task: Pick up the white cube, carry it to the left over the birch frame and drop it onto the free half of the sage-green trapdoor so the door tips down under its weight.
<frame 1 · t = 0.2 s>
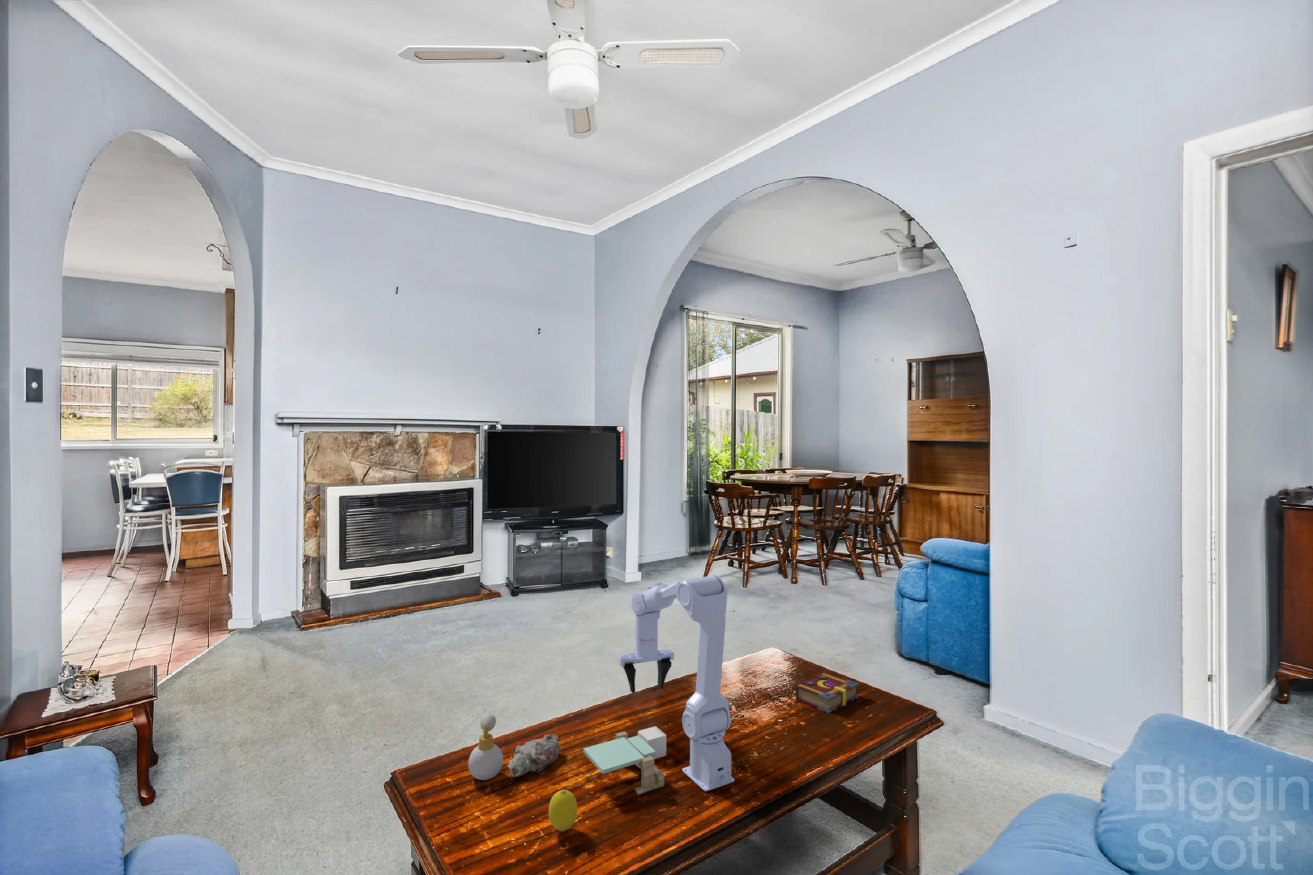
hand: (646, 689, 162), 10 cm above the table, fingers open, 7 cm apart
decorative book: (827, 699, 179), on the table
white cube: (651, 753, 149), on the table
trapdoor: (620, 755, 138), point 5 cm above the table, hinge at 0.0°
mineral rock: (534, 766, 144), on the table
frame: (634, 774, 140), on the table
lemon: (562, 831, 121), on the table
perfume bottle: (484, 774, 140), on the table
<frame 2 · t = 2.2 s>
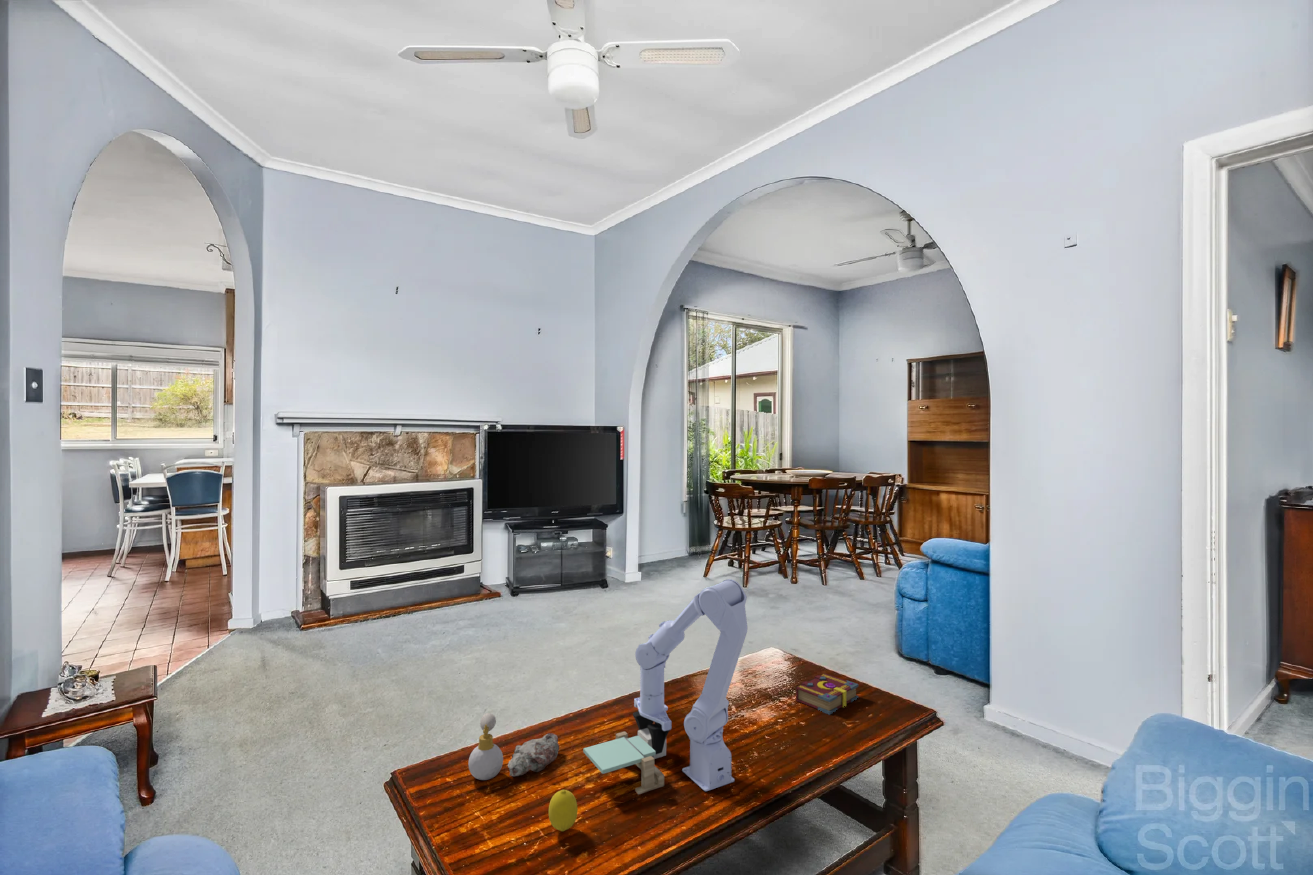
hand: (651, 747, 149), 1 cm above the table, fingers closed on white cube, 5 cm apart
white cube: (651, 753, 149), on the table, touching gripper
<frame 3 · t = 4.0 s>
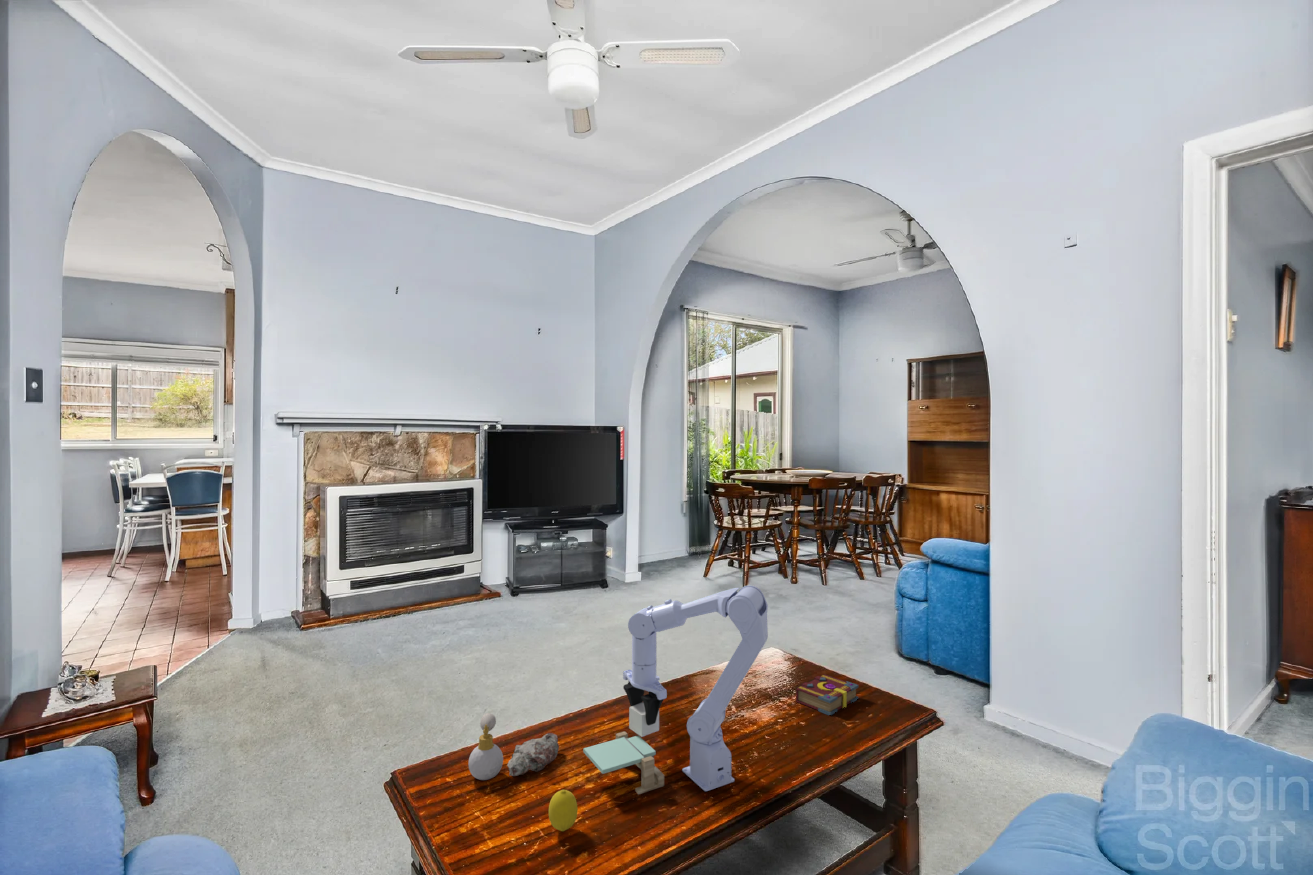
hand: (644, 718, 146), 10 cm above the table, fingers closed on white cube, 5 cm apart
white cube: (644, 729, 146), point 7 cm above the table, touching gripper
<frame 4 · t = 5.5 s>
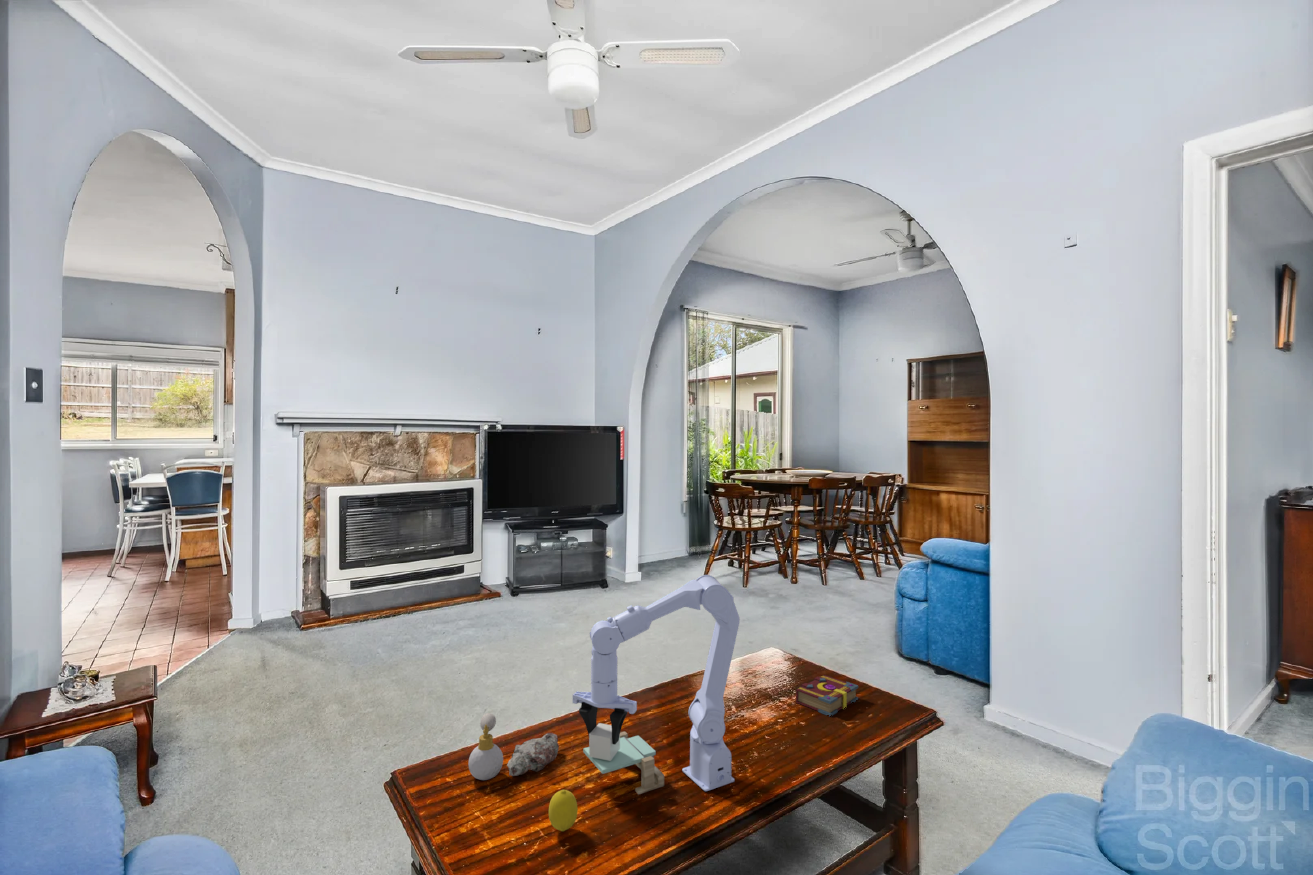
hand: (604, 739, 136), 10 cm above the table, fingers closed on white cube, 5 cm apart
white cube: (604, 752, 136), point 7 cm above the table, touching gripper
when the fingers open (10 cm above the table, at t = 5.9 s): white cube drops 4 cm, resting on trapdoor.
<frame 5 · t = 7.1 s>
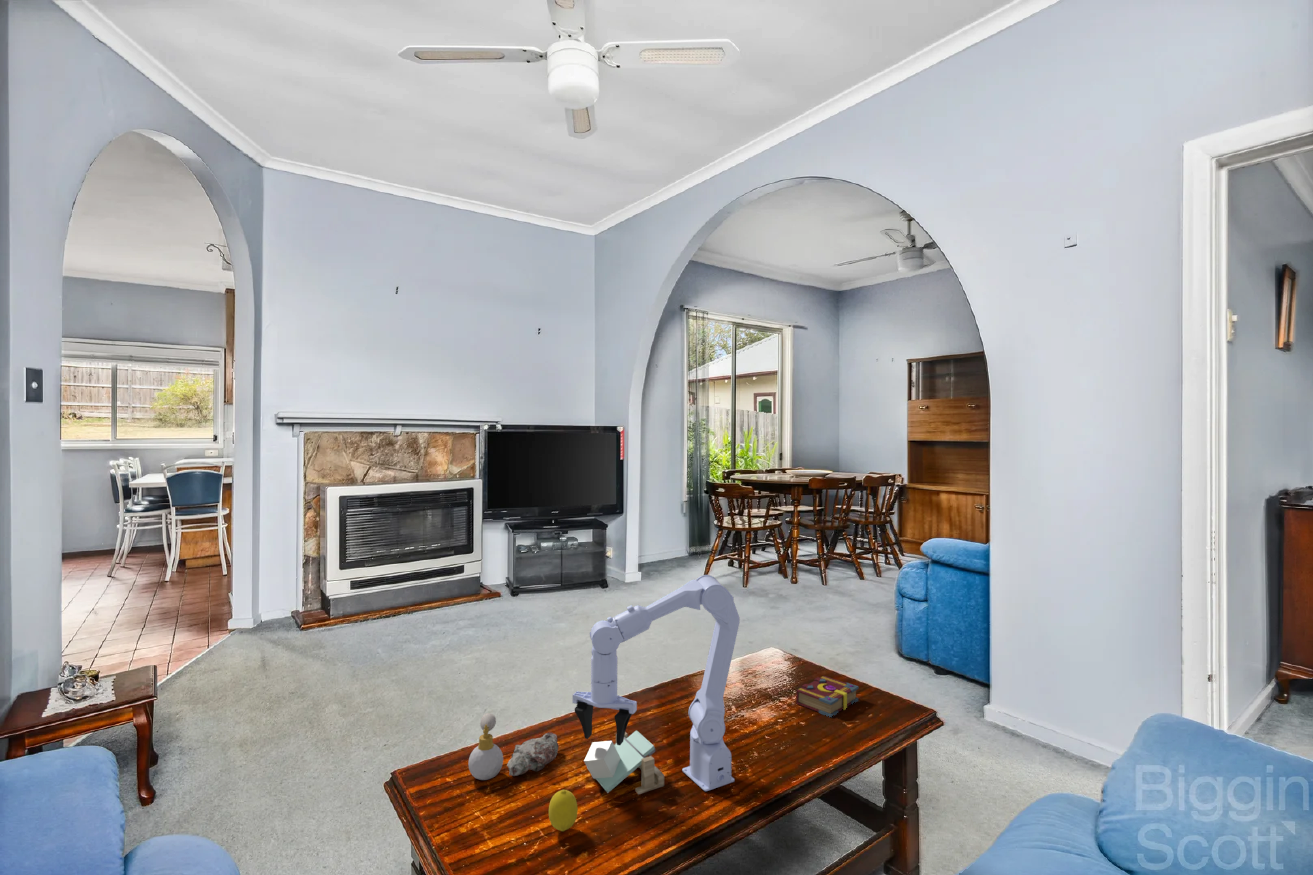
hand: (604, 739, 136), 10 cm above the table, fingers open, 7 cm apart
white cube: (607, 768, 137), point 3 cm above the table, tilted 26°, touching trapdoor
trapdoor: (623, 761, 138), point 4 cm above the table, hinge at -25.9°, touching white cube
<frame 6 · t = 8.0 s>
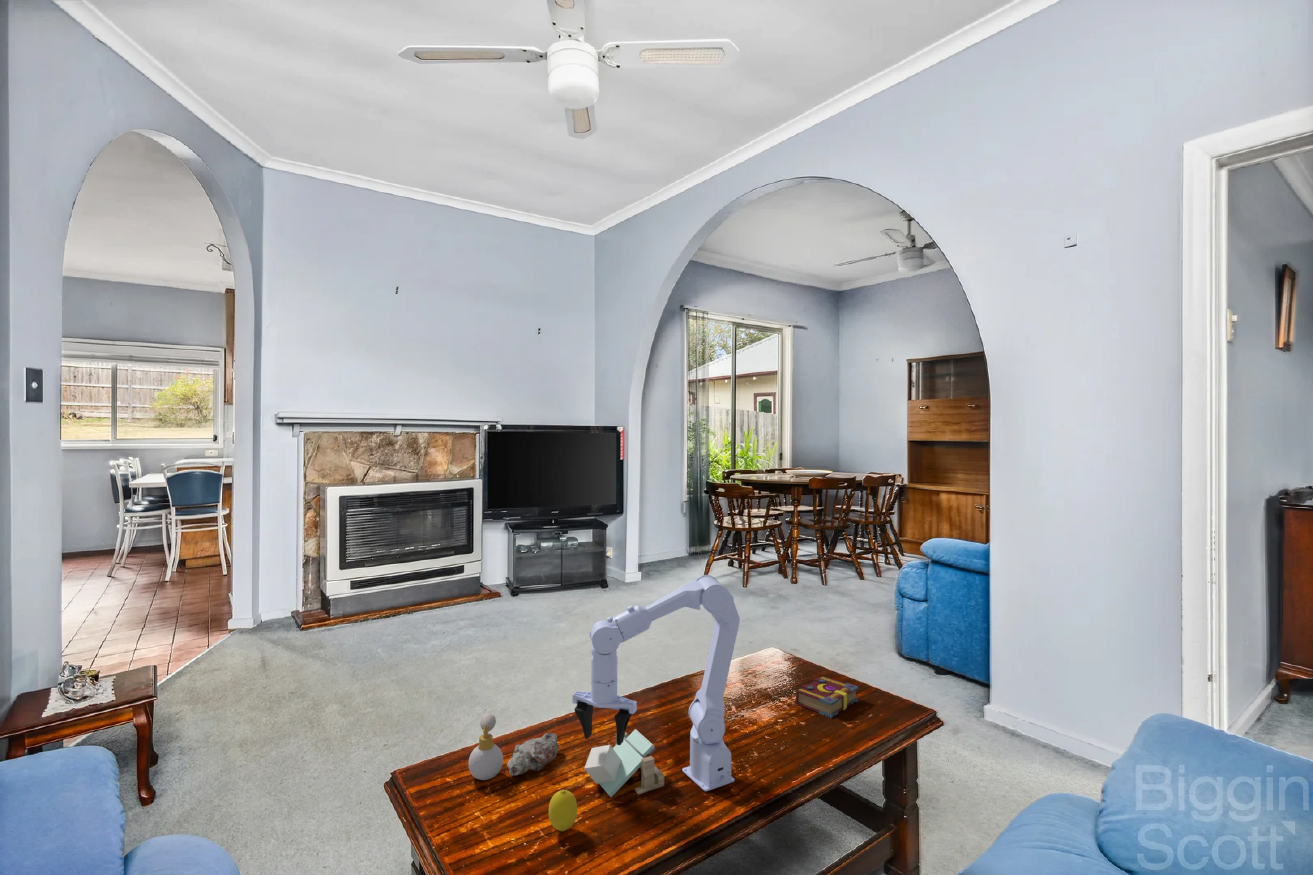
hand: (604, 739, 136), 10 cm above the table, fingers open, 7 cm apart
white cube: (608, 771, 137), point 2 cm above the table, tilted 34°, touching trapdoor
trapdoor: (624, 762, 138), point 4 cm above the table, hinge at -33.8°, touching white cube
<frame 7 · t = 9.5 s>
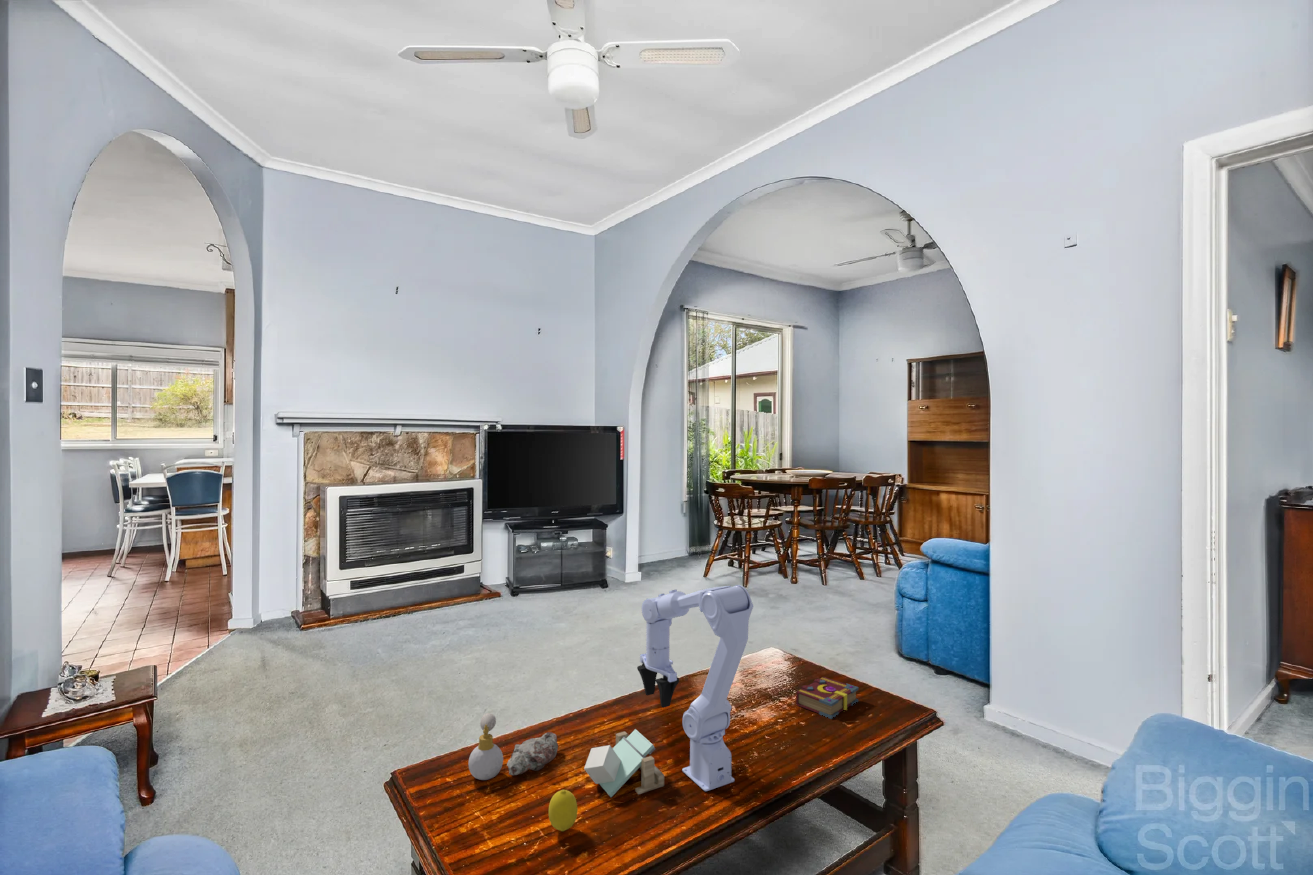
hand: (657, 700, 154), 10 cm above the table, fingers open, 7 cm apart
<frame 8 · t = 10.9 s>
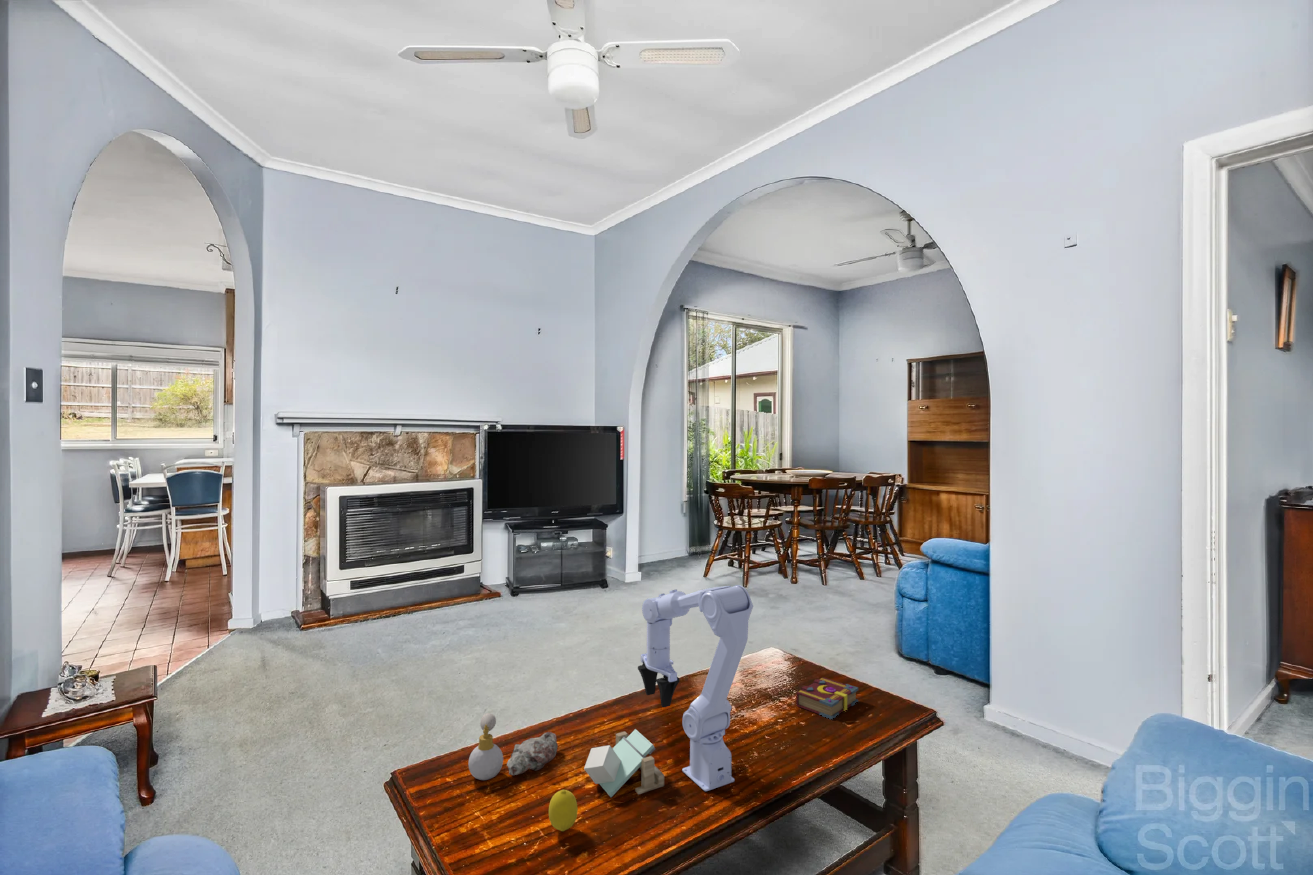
hand: (658, 699, 154), 10 cm above the table, fingers open, 7 cm apart
at the end: white cube point 2.3 cm above the table; white cube inside the target area on the table beside the frame (1.7 cm from its centre), point 2.3 cm above the table; the gripper is holding nothing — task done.
